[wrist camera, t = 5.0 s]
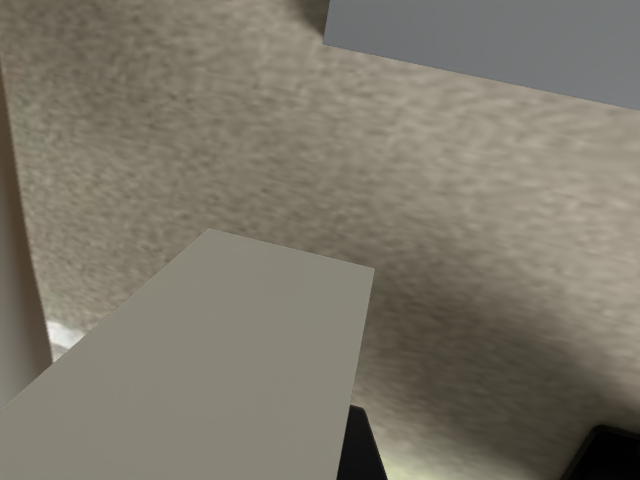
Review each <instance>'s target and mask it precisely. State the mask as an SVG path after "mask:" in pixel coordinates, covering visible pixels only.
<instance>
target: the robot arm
mask: <svg viewBox="0 0 640 480" xmlns="http://www.w3.org/2000/svg"><path fill="white" fill-rule="evenodd" d="M602 436H606V437H602ZM336 480H388V479H387V476H386V473H385V469H384V466H383V463H382V460H381V457H380V454H379V451H378V448H377V445H376V442H375V439H374V436H373V433H372V430H371V427H370V424H369V421H368V418H367V415H366V412H365V410H364V409H363V408H361V407H357V406H354V405H350V407H349V413H348V418H347V424H346V429H345V434H344V440H343V445H342V451H341V456H340V461H339V467H338V472H337V478H336ZM561 480H640V435H638V434H635V433H631V432H628V431H624V430H621V429H617V428H613V427H610V426H605V425H600V426H597V427H594V428H593V429H592V430H591V432H590V434H589V435H588V437H587V438H586V440H585V442H584V443H583V445H582V446H581V448H580V450H579V451H578V453H577V454H576V456H575V458H574V459H573V461H572V462H571V464H570V466H569V467H568V469H567V470H566V472H565V474H564V475H563V477H562V478H561Z"/></svg>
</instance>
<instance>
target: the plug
mask: <svg viewBox="0 0 640 480" xmlns="http://www.w3.org/2000/svg"><path fill="white" fill-rule="evenodd" d="M374 272H375V268H371V267H367V266H363V265H359V264H355V263H351V262H347V261H342V260H338V259H334V258H330V257H326V256H322V255H318V254H314V253H309V252H305V251H301V250H297V249H293V248H289V247H285V246H281V245H276V244H272V243H268V242H264V241H260V240H256V239H252V238H248V237H243V236H239V235H235V234H231V233H227V232H223V231H219V230H215V229H210V228H208V229H207V230H206V231H204V232H203V233H202V234H201V235H200V236H199V237H198V238H196V239H195V240H194V241H193V242H192V243H191V244H190V245H188V246H187V247H186V248H185V249H184V250H183V251H182V252H180V253H179V254H178V255H177V256H176V257H175V258H174V259H172V260H171V261H170V262H169V263H168V264H167V265H166V266H164V267H163V268H162V269H161V270H160V271H159V272H158V273H156V274H155V275H154V276H153V277H152V278H151V279H150V280H148V281H147V282H146V283H145V284H144V285H143V286H141V287H140V288H139V289H138V290H137V291H136V292H135V293H133V294H132V295H131V296H130V297H129V298H128V299H127V300H125V301H124V302H123V303H122V304H121V305H120V306H119V307H117V308H116V309H115V310H114V311H113V312H112V313H111V314H109V315H108V316H107V317H106V318H105V319H104V320H103V321H101V322H100V323H99V324H98V325H97V326H96V327H95V328H93V329H92V330H91V331H90V332H89V333H88V334H87V335H85V336H84V337H83V338H82V339H81V340H80V341H79V342H77V343H76V344H75V345H74V346H73V347H72V348H70V349H69V350H68V351H67V352H66V353H65V354H64V355H62V356H61V357H60V358H59V359H58V360H57V361H56V362H54V363H53V364H52V365H51V366H50V367H49V368H48V369H46V370H45V371H44V372H43V373H42V374H41V375H40V376H38V378H36V379H35V380H34V381H33V382H32V383H30V384H29V385H28V386H27V387H26V388H25V389H24V390H23V391H21V392H20V393H19V394H18V395H17V396H16V397H14V398H13V399H12V400H11V401H10V402H9V403H8V404H6V405H5V406H4V407H3V408H2V409H1V410H0V480H336V478H337V472H338V467H339V461H340V456H341V451H342V445H343V440H344V434H345V429H346V424H347V418H348V413H349V407H350V402H351V397H352V391H353V386H354V380H355V375H356V370H357V364H358V359H359V353H360V348H361V342H362V337H363V332H364V326H365V321H366V315H367V310H368V305H369V299H370V294H371V288H372V283H373V278H374Z"/></svg>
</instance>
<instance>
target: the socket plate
mask: <svg viewBox="0 0 640 480" xmlns="http://www.w3.org/2000/svg"><path fill="white" fill-rule="evenodd" d="M323 44H324V45H329V46H333V47H338V48H343V49H348V50H352V51H357V52H362V53H367V54H372V55H376V56H381V57H386V58H391V59H395V60H400V61H405V62H410V63H414V64H419V65H424V66H429V67H434V68H438V69H443V70H448V71H453V72H457V73H462V74H467V75H472V76H477V77H481V78H486V79H491V80H496V81H500V82H505V83H510V84H515V85H520V86H524V87H529V88H534V89H539V90H543V91H548V92H553V93H558V94H562V95H567V96H572V97H577V98H582V99H586V100H591V101H596V102H601V103H605V104H610V105H615V106H620V107H625V108H629V109H634V110H639V111H640V0H330V3H329V9H328V15H327V21H326V27H325V32H324V38H323Z"/></svg>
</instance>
